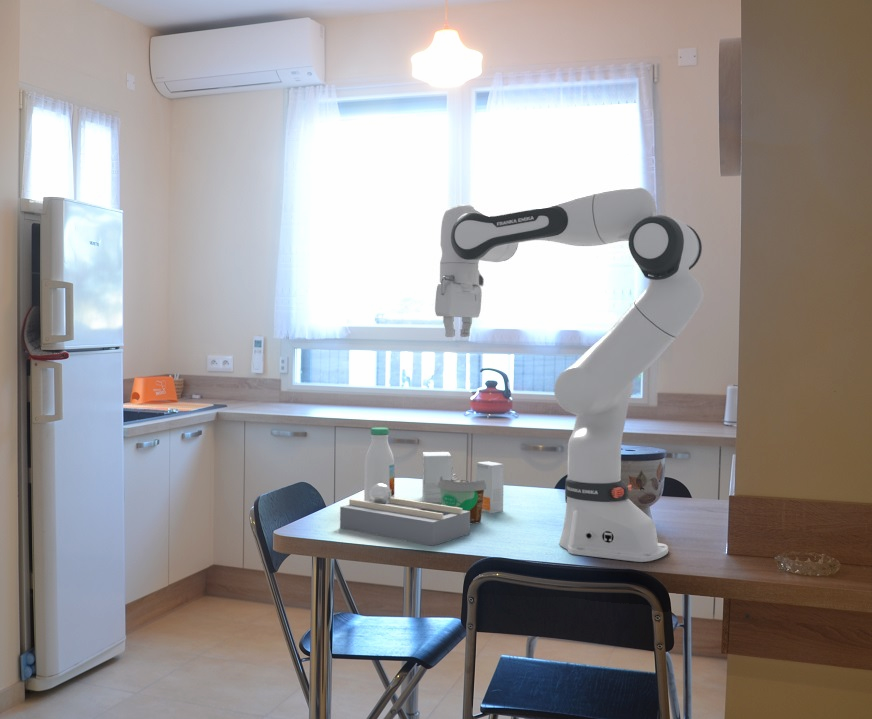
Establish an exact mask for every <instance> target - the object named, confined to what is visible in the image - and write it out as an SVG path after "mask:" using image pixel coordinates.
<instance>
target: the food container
mask: <svg viewBox="0 0 872 719" xmlns="http://www.w3.org/2000/svg"><path fill="white" fill-rule="evenodd" d="M437 487H438V488H440V493H441V502H440V503H441V504H440V505H445V506H451V507H458V508H462V510H465V511H470V523H472V524H477V523H476V522H478V523H480V521H481V520H482V512H483V511H482V503H483V493H484V490H485V489H486V483H485V480H483V481H477V482H476V481H468V480H463V479H461V480H460V479H458V480H457V481H456V480H453V481H449V480H443V477H442V476H441V477H440V479H439V480H438V485H437Z"/></svg>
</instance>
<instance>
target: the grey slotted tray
mask: <svg viewBox="0 0 872 719" xmlns="http://www.w3.org/2000/svg"><path fill="white" fill-rule="evenodd" d="M339 514H340V517H339V518H340V519H339V524H340V525H339V527H340V529H345V530H350V531H355V532H359V533H365V534H369V535H376V536H380V537H386V538H389V539H394V538H395V540H400V541H404V540H406V541H405V542H409V541H410V543H414V542H415V544H419V543H420V545H426V546H429V547H430V546H432V547H434V546H438V545H440V544H444V543H446V542H450V541H452V540H455V538H456V539H458V537H459V538H461V537H460V536H462V537H464V536H463V535H465V536H467V535H466V534H468V535H470V534H471V524H470V511H465V510H462V508H458V507H451V506H445V505H441V504H438V503H432V502H424V501H417V500H411V499H406V498H405V499H404V498H398V497H397V498H396V497H394V498H391V499H390V501H389V502H388V503H387V504H379V503H373V502H372V501H371V499H370V500H367V501H364V500H360V499H354V498H353V499H352V498H351V499H349V502H348V504H347V505H342V506H339Z"/></svg>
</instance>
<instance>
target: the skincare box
mask: <svg viewBox="0 0 872 719" xmlns="http://www.w3.org/2000/svg"><path fill="white" fill-rule="evenodd" d="M504 466H505V465H504V463H499V462H495V461H489V460H488V461H479V462H476V481H475V482H477V481H483V480H485V483H486V489H485V490H484V493H483V503H482V510H483V511H482V512H486V513H489V514H492V513H499V512H504V475H505V474H504V472H505V471H504V470H505V468H504Z"/></svg>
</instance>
